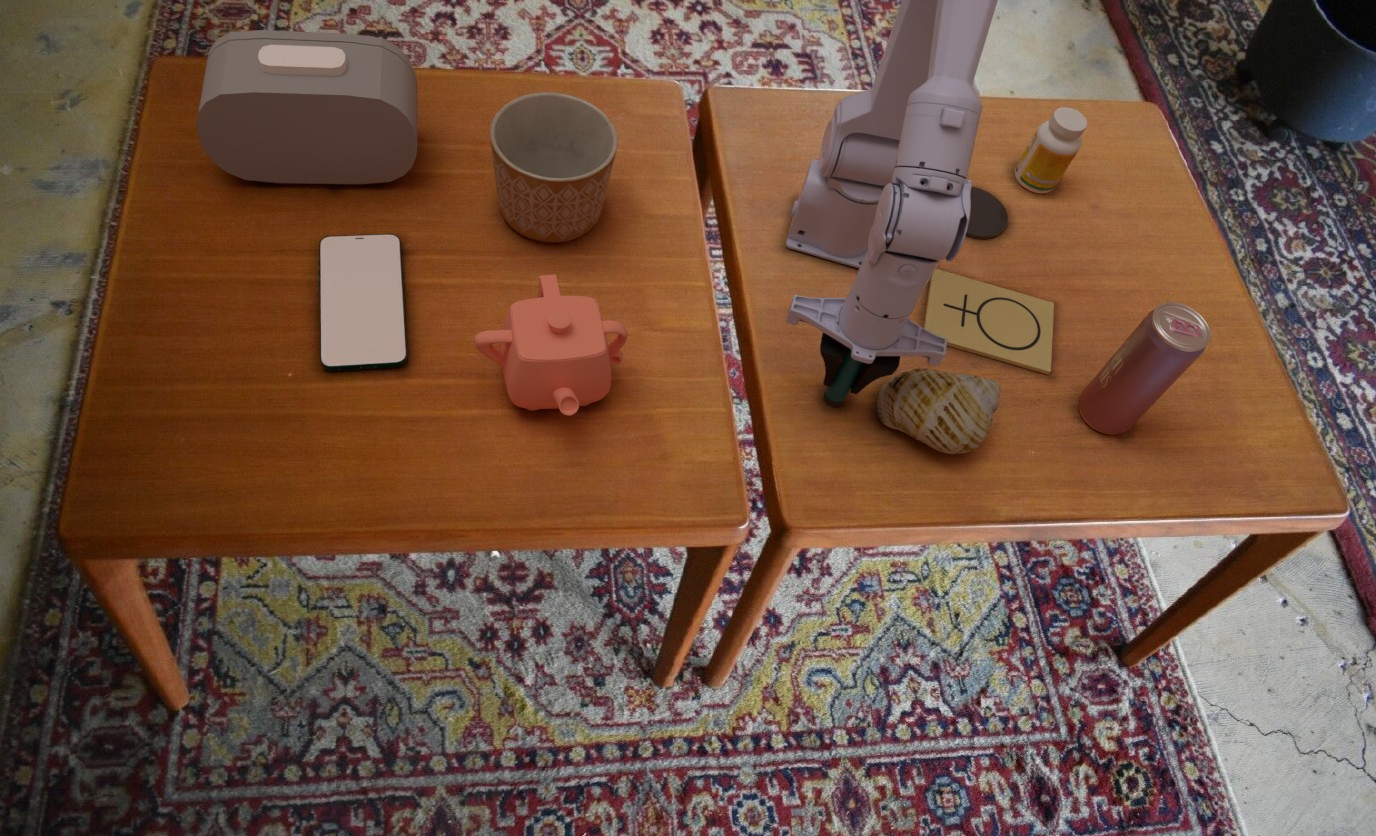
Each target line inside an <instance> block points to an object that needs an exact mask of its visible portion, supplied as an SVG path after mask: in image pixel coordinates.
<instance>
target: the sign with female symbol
mask: <svg viewBox="0 0 1376 836" xmlns="http://www.w3.org/2000/svg"><path fill="white" fill-rule="evenodd" d="M928 286H929V287H928V294H927V299H926V300H927V301H926V308H925V313H924V314H925V315H924V322H923V328H925V329H926V330H928V331H930V332H932V333H934V334H936V335H938V336H941V337H944V338H947V346H948V347H951V348H954V349H958V350H961V351H965V352H968V353H972V354H975V355H978V356H983V357H986V358H989V359H993V360H997V361H999V362H1003V363H1006V364H1010V365H1013V366H1017V367H1020V368H1024V369H1027V370H1031V371H1034V372H1038V373H1041V374H1043V375H1044V374H1045V375H1048V376H1049V375H1050V374H1051V372H1052V359H1053V356H1052V355H1053V335H1054V317H1055V316H1054V315H1055V302H1053V301H1050V300H1046V299H1042V298H1039V297H1036V296H1032V295H1028V294H1025V293H1022V292H1018V291H1015V290H1011V289H1008V288H1004V287H1001V286H998V285H994V284H991V283H987V282H984V281H981V280H977V279H974V278H970V277H966V276H963V275H960V274H956V273H953V272H949V271H946V270H942V269H939V268H937V267H936V268H935V270H934V272H933V274H932V276H931V278H930V280H929V285H928Z"/></svg>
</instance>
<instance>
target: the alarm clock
mask: <svg viewBox="0 0 1376 836" xmlns="http://www.w3.org/2000/svg"><path fill="white" fill-rule="evenodd" d="M418 84H419V83H418V79H417V75H416V70H415V68H414V66H413V64H412V62H411V60H410V58H409V57H408V55H407V54H406V53H404V51H403V50H402V49H401V48H400V47H399V46H397V45H395V44H393V42H392V43H391V42H390V41H388V40H386V39H384V38H383V37H377V36H368V35H362V34H355V33H354V34H353V33H340V32H317V31H293V30H271V29H259V30H257V29H256V30H255V29H254V30H237V31H236V30H235V31H229V32H227V33H226V34H224V35H222V36H221V37H219V38H217V39H216V40H215V41H214V43H213V44H212V45H211V47H210V48H209V50H208V53H207V59H206V65H205V72H204V77H203V82H202V89H201V93H200V94H201V95H200V101H199V106H198V113H197V120H196V131H197V136H198V140H199V142H200V144H201V147H202V149H203V151H204V152H205V155H207V156H208V157H209V159H210V160H211V162H212V163H213V164H214V165H216V166H217V167H219V168H220V169H221V170H222V171H224V172H225V173H226V174H229V175H232V176H234V177H237V178H239V179H242V180H244V181H255V182H263V183H271V184H272V183H274V184H310V185H311V184H315V185H317V184H319V185H320V184H321V185H368V184H369V185H370V184H382V183H383V184H384V183H390V182H393V181H396V180H397V179H400V178H402V177H404V176H405V175H406V174H407V173H408V172H409V171H410V170H411V169H412V168H413V166H414V164H415V162H416V158H417V156H418V155H417V154H418V103H419V102H418V100H419V99H418V97H419V95H418V94H419V92H418V89H419V88H418V87H419V86H418Z"/></svg>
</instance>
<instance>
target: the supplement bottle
mask: <svg viewBox="0 0 1376 836" xmlns="http://www.w3.org/2000/svg"><path fill="white" fill-rule="evenodd" d="M1087 127H1088V120H1087V118H1086V117H1085V115H1084V114H1083V113H1081V112H1080V111H1078V110H1077V109H1075V108H1072V107H1068V106H1062V107H1059V108H1057V109H1056V110H1055V111H1054V112H1053V114H1052V115H1051V116H1050V118H1049V119H1048V120H1045V121H1043V122H1042V123H1041V124H1040V125H1039V126H1038V128H1037V129H1036V131H1035V132H1034V134H1033V136H1032V137H1031V140H1030V141H1029V143H1028V144H1027V146H1026V148H1025V150H1024V152H1023V153H1022V155H1021V157H1020V159H1019V161H1018V162H1017V164H1016V166H1015V168H1014V177H1015V179H1016V181H1017V183H1018V184H1019V185H1020V186H1022V187H1023V188H1025V189H1026V190H1027V191H1029V192H1032V193H1035V194H1047V193H1050V192H1052V191H1053V190H1054V189H1056V187H1057V186H1058V184H1059V182H1060V181H1061V179H1062V178H1063V176H1064V174H1065V173H1066V171H1067V170H1068V168H1069V167H1070V165H1071V164H1072V162H1073V160H1074V158H1075V157H1076V156H1077V154H1078V152H1080V149H1081V147H1082V142H1083V140H1082V135H1083V134H1084V132H1085V130H1086V129H1087Z"/></svg>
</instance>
